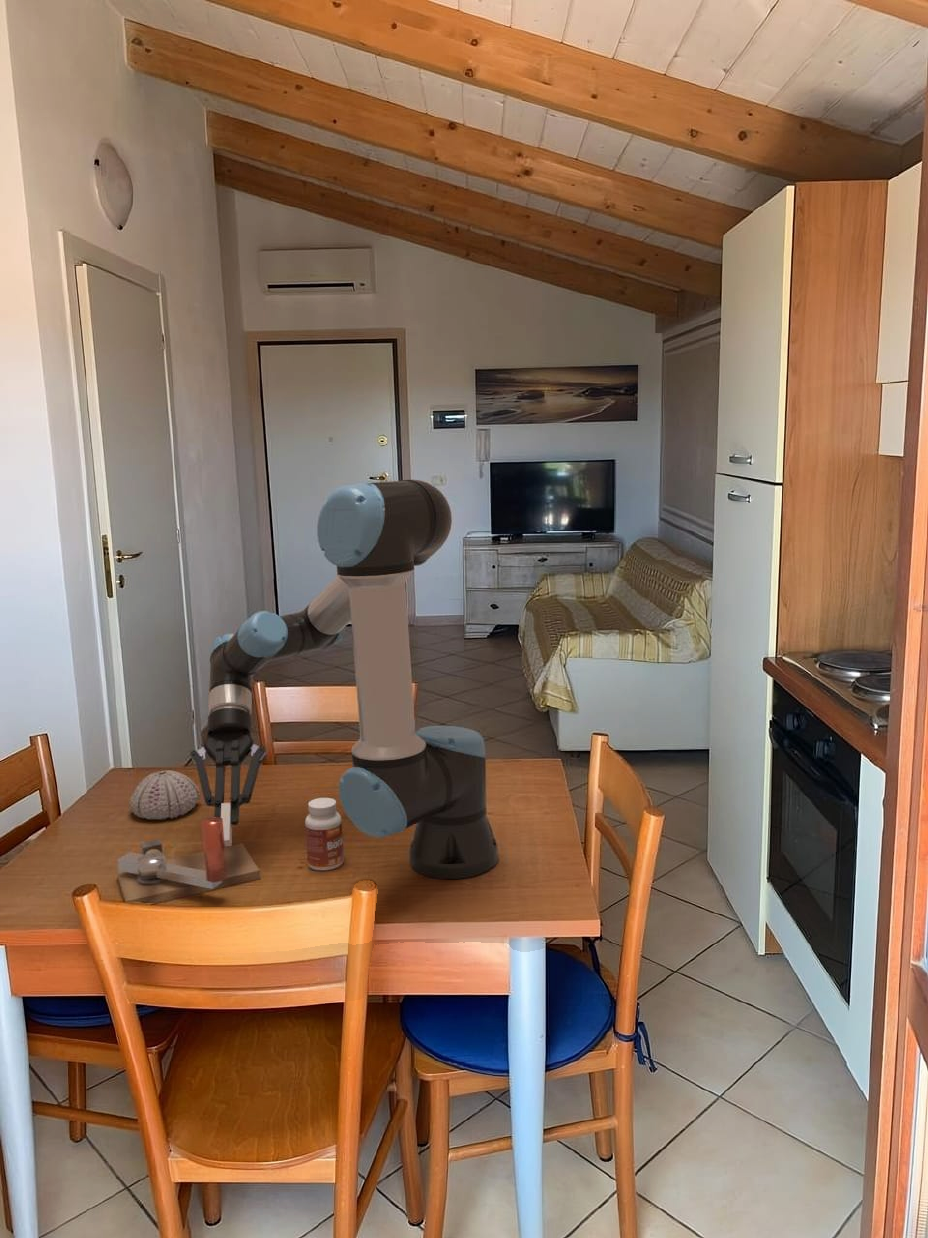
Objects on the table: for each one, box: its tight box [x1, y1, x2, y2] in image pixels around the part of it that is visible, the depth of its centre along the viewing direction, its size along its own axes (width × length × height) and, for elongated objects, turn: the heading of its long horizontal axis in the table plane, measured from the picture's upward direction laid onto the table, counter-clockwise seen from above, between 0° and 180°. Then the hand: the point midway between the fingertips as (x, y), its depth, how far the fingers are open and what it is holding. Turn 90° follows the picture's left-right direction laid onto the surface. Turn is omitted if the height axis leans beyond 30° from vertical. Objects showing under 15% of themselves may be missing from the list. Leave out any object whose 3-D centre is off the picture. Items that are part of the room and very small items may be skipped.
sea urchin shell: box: [128, 769, 201, 821], centre depth 185 cm, size 13×14×8 cm
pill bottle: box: [304, 797, 345, 871], centre depth 159 cm, size 6×6×11 cm
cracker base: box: [116, 838, 261, 904], centre depth 157 cm, size 21×14×4 cm
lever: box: [116, 816, 227, 889], centre depth 151 cm, size 21×4×11 cm, turn 66°
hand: (225, 843), depth 154 cm, fingers closed
